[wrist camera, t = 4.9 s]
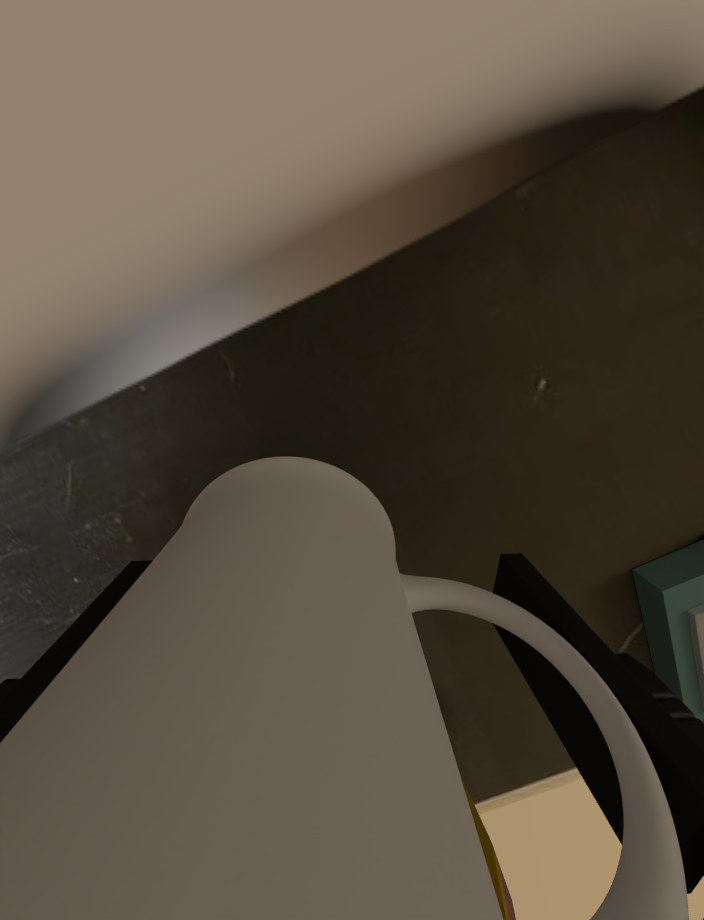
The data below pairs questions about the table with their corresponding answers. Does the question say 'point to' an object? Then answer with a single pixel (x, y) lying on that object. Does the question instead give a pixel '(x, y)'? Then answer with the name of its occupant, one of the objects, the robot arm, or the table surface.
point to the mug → (281, 734)
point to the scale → (676, 621)
